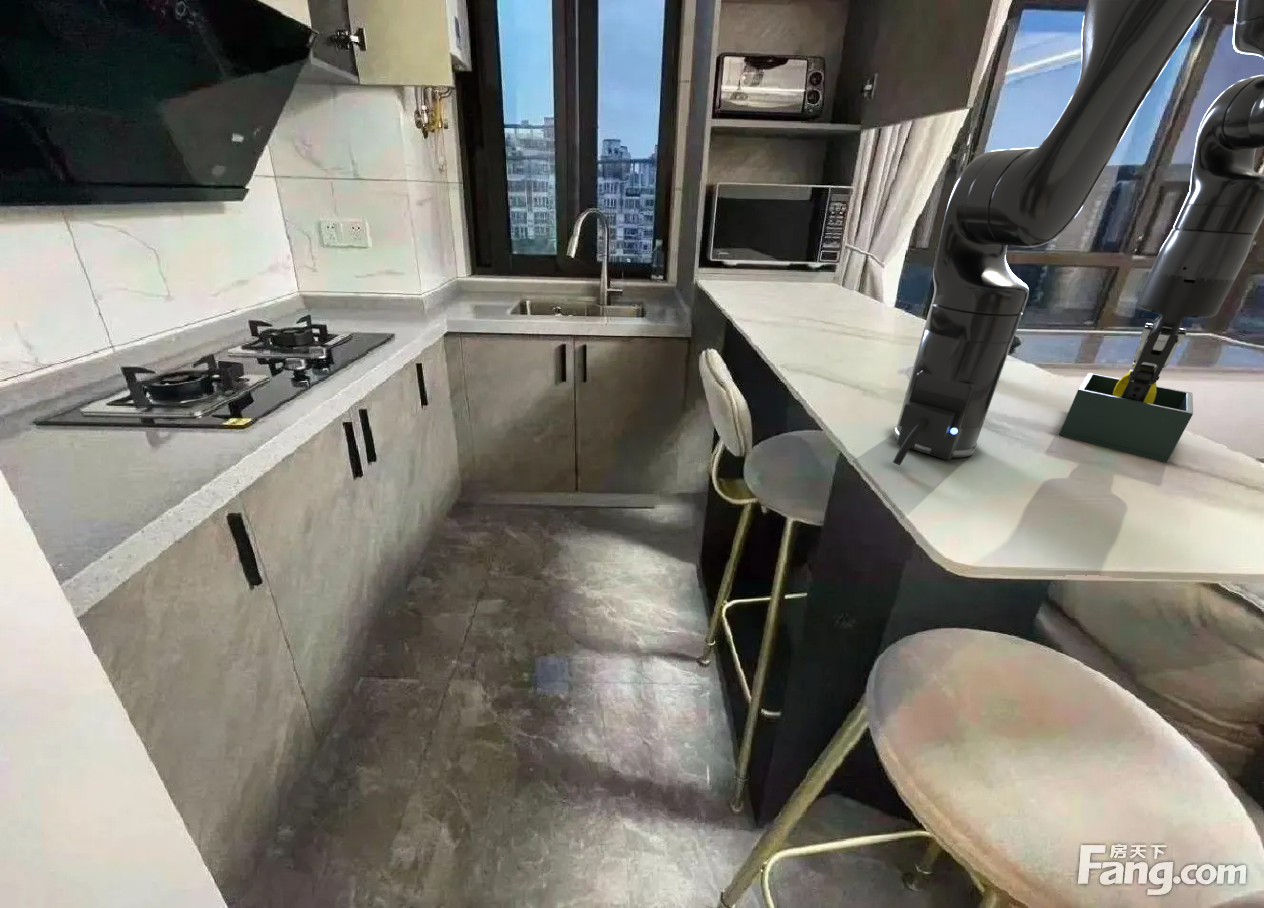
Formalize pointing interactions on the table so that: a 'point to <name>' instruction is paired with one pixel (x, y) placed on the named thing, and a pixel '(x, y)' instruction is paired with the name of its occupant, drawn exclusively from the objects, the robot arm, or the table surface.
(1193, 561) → the table surface
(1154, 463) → the table surface
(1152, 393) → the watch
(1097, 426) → the waste bin
